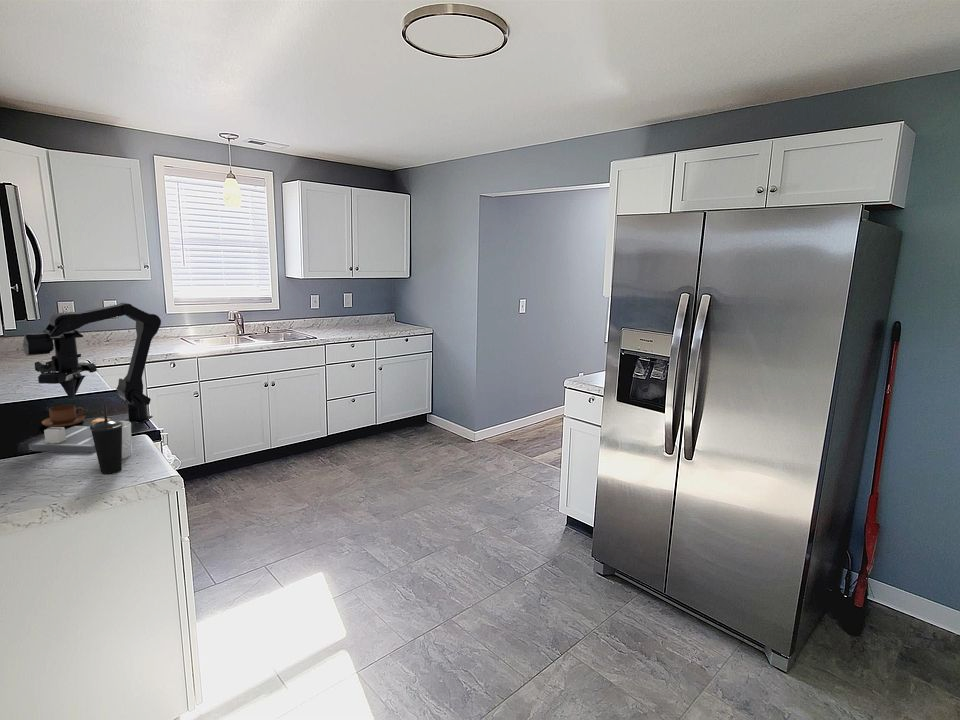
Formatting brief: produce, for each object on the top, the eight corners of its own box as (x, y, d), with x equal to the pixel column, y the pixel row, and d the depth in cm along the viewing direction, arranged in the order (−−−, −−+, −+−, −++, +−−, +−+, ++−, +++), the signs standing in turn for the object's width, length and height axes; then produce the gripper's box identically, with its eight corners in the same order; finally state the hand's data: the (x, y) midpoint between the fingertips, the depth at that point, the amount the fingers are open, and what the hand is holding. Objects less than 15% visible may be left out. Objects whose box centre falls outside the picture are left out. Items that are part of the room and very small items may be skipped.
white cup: (139, 451, 166) (136, 420, 164) (123, 461, 159) (120, 429, 157) (113, 451, 166) (110, 420, 164) (96, 460, 158) (92, 428, 156)
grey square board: (74, 431, 181) (74, 425, 181) (129, 433, 182) (128, 427, 181) (32, 451, 164) (31, 444, 163) (92, 452, 164) (91, 446, 164)
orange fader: (99, 430, 177) (98, 418, 176) (111, 430, 177) (110, 418, 176) (92, 433, 174) (91, 421, 173) (105, 433, 174) (104, 421, 173)
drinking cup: (91, 478, 147) (83, 408, 143) (98, 467, 154) (91, 400, 150) (124, 474, 150) (117, 405, 146) (129, 464, 157) (123, 398, 153)
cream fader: (52, 439, 168) (51, 426, 167) (66, 439, 168) (64, 426, 167) (45, 442, 165) (43, 429, 164) (59, 443, 165) (57, 429, 164)
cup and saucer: (70, 417, 196) (68, 401, 194) (93, 422, 192) (91, 405, 190) (33, 427, 184) (31, 409, 183) (57, 432, 181) (55, 414, 179)
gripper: (62, 346, 184) (67, 390, 187) (17, 356, 165) (23, 405, 168) (95, 347, 184) (100, 391, 187) (54, 357, 166) (60, 406, 169)
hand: (71, 398), depth 178 cm, fingers closed
